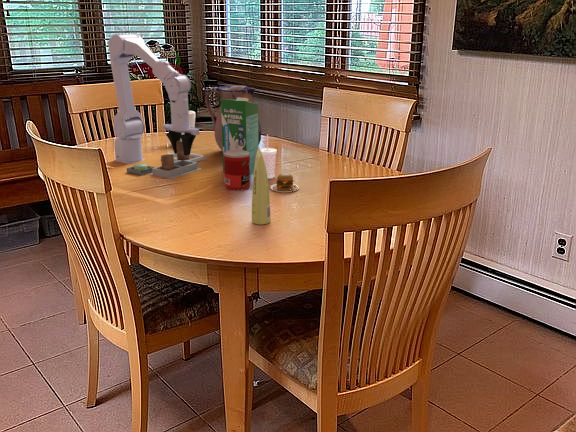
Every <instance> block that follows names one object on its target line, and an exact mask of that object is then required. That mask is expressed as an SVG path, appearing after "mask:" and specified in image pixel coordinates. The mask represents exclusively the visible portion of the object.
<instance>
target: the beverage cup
mask: <svg viewBox="0 0 576 432" xmlns="http://www.w3.org/2000/svg"><path fill="white" fill-rule="evenodd" d="M260 150H261V152H262V156H263V158H264V162H265V166H266V171H267V177H268V179H274V178H275V175H276V163H277V162H276V159H277V151H278V149H276V148H273V147H272V148H271V147H269V134H266V147H263V148H260ZM273 177H274V178H273Z"/></svg>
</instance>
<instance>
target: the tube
mask: <svg viewBox="0 0 576 432" xmlns="http://www.w3.org/2000/svg"><path fill="white" fill-rule="evenodd" d="M260 149H261V148H260V146H258V150H257V153H256V159H255V167H254V173H253V176H252V178H253V179H252V188H251V189H252V191H251V223H253V224H255V225H259V226H260V225H261V226H262V225H267V224H269V223H270V222H271V201H270V198H271V197H270V189H269V188H270V187H269V178H268V177H267V171H266V166H265V162H264V158H263V156H262V152H261V150H260Z"/></svg>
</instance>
